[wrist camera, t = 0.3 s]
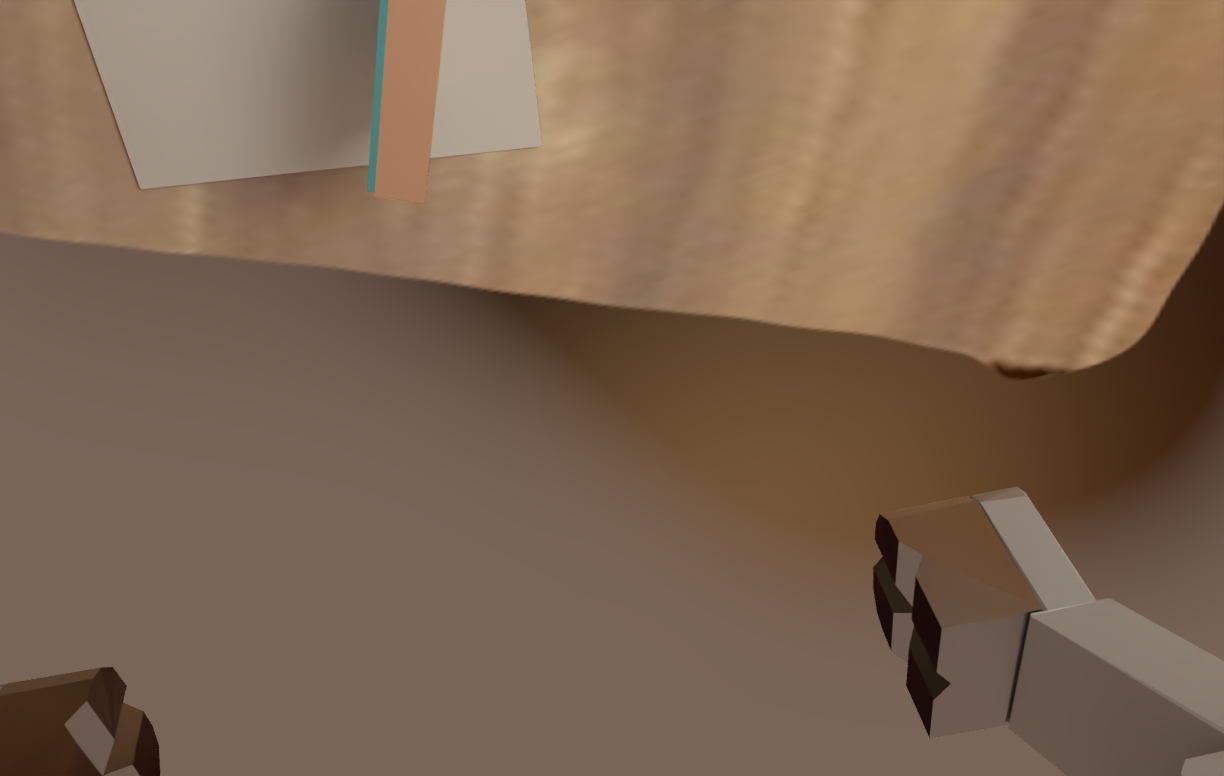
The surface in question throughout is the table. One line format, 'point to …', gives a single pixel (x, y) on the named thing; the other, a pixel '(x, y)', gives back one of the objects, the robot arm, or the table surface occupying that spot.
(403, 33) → the tile
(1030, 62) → the table surface
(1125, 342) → the table surface
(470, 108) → the mat
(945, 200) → the table surface
